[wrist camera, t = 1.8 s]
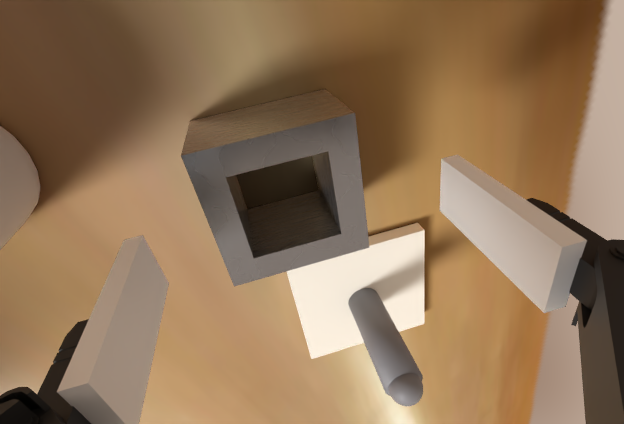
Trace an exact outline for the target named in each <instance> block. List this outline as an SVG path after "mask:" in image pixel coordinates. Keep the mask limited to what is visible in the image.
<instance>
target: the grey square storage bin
mask: <svg viewBox="0 0 624 424" xmlns="http://www.w3.org/2000/svg"><path fill="white" fill-rule="evenodd" d="M308 156H312V158H313V164H314V169H315V175H316V180H317V185H318V191H314V192H310V193H306V194H303V195H299V196H295V197H291V198H288V199H284V200H280V201H276V202H272V203H269V204H265V205H261V206H257V207H254V208H250V209H247V207H246V204H245V201H244V198H243V195H242V191H241V188H240V185H239V182H238V179H237V176H236V175H237V174H241V173H245V172H249V171H253V170H257V169H261V168H265V167H269V166H273V165H277V164H280V163H284V162H288V161H292V160H296V159H300V158H304V157H308ZM181 157H182V159H183V162H184V164H185V167H186V169H187V172H188V174H189V176H190V179H191V181H192V184H193V186H194V189H195V191H196V194H197V196H198V199H199V201H200V203H201V206H202V208H203V211H204V213H205V216H206V218H207V221H208V223H209V226H210V228H211V230H212V233H213V235H214V238H215V240H216V243H217V245H218V248H219V250H220V253H221V255H222V257H223V260H224V262H225V265H226V267H227V270H228V272H229V275H230V277H231V280H232V282H233V284H234V286H237V285H241V284H244V283H248V282H251V281H255V280H258V279H262V278H265V277H269V276H272V275H276V274H279V273H282V272H286V271H289V270H293V269H296V268H300V267H303V266H307V265H310V264H314V263H317V262H321V261H324V260H328V259H331V258H335V257H338V256H342V255H345V254H349V253H352V252H356V251H359V250H363V249H366V248H369V239H368V229H367V220H366V211H365V201H364V192H363V183H362V173H361V164H360V154H359V145H358V136H357V126H356V117H355V112H353V111H352V110H351V109H350V108H348V107H347V106H346V105H345V104H343V103H342V102H341V101H340V100H339V99H337V98H336V97H335V96H334V95H332V94H331V93H330V92H329V91H327V90H326V89H323V90H319V91H314V92H310V93H306V94H302V95H297V96H293V97H289V98H285V99H281V100H276V101H272V102H268V103H264V104H260V105H255V106H251V107H247V108H243V109H238V110H234V111H230V112H226V113H222V114H217V115H213V116H209V117H205V118H200V119H196V120H192V121H190V123H189V127H188V131H187V135H186V139H185V142H184V146H183V150H182V154H181Z"/></svg>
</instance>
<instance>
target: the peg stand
mask: <svg viewBox="0 0 624 424" xmlns="http://www.w3.org/2000/svg"><path fill="white" fill-rule="evenodd" d="M368 239H369V248H366V249H363V250H359V251H356V252H352V253H349V254H345V255H342V256H338V257H335V258H331V259H328V260H324V261H321V262H317V263H314V264H310V265H307V266H303V267H300V268H296V269H293V270H289V271H287V275H288V278H289V282H290V285H291V289H292V292H293V296H294V299H295V303H296V306H297V310H298V313H299V317H300V320H301V324H302V327H303V331H304V334H305V338H306V341H307V345H308V348H309V352H310V355H311V359H313V358H317V357H320V356H323V355H326V354H329V353H333V352H336V351H339V350H342V349H345V348H349V347H352V346H355V345H358V344H361V343H365V345H366V348H367V350H368V352H369V355H370V357H371V359H372V362H373V364H374V366H375V369H376V371H377V373H378V376H379V378H380V381H381V383H382V385H383V388H384V390H385V392H386V394H388V395H390V396H391V397H392V398H393V399H394V401H396V402H397V403H398V404H400V405H403V406H412V405H415V404H416V403H417V402H419V400H420V399H421V397H422V394H423V384H422V378H423V377H422V374H421V372H420V370H419V368H418V367H417V365H416V363H415V361H414V359H413V357H412V356H411V354H410V352H409V350H408V348H407V346H406V344H405V343H404V341H403V339H402V337H401V335H400V333H399V332H400V331H403V330H406V329H409V328H412V327H416V326H419V325H422V324H424V247H425V230H424V229H423V228H422V227H421V226H420V225H419V223H415V224H411V225H408V226H404V227H401V228H397V229H393V230H390V231H386V232H383V233H379V234H376V235H372V236H369V237H368Z"/></svg>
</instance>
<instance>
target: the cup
mask: <svg viewBox="0 0 624 424" xmlns="http://www.w3.org/2000/svg"><path fill="white" fill-rule="evenodd" d="M39 193H40V182H39V176H38V171H37V169H36V167H35V165H34V163H33V161H32V159H31V157H30V155H29V154H28V152H27V151H26V150H25V149H24V147H23V146H22V145H21V144H20V143H19V142H18V141H17V139H16V138H15V137H14V136H13V135H12V134H10V133H9V132H8V131H6V130H5V129H4V128H3V127H1V126H0V250H1V249H2V247H3V246H4V245H5V244H6V243H7V242H8V241H9V240H10V239H11V237H12V236H13V235H14V234H15V233H16V232H17V231H18V230H19V229H20V227H21V226H22V225H23V224H24V223H25V222H26V220H27V219H28V218H29V216H30V215H31V213H32V211H33V210H34V208H35V206H36V205H37V203H38V200H39Z"/></svg>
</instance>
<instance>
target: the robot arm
mask: <svg viewBox="0 0 624 424" xmlns="http://www.w3.org/2000/svg"><path fill="white" fill-rule="evenodd" d="M440 211H441V212H442V213H443V214H444V215H445V216H446V217H447V218H448V219H449V220H450V221H451V222H452V223H453V224H454V225H455V226H456V227H457V228H458V229H459V230H460V231H461V232H462V233H463V234H464V235H465V236H466V237H467V238H468V239H469V240H470V241H471V242H472V243H473V244H474V245H475V246H476V247H477V248H478V249H479V250H480V251H481V252H482V253H483V254H484V255H486V256H487V257H488V258H489V259H490V260H491V261H492V262H493V263H494V264H495V265H496V266H497V267H498V268H499V269H500V270H501V271H502V272H503V273H504V274H505V275H506V276H507V277H508V278H509V279H510V280H511V281H512V282H513V283H514V284H515V285H516V286H517V287H518V288H519V289H520V290H521V291H522V292H523V293H524V294H525V295H526V296H527V297H528V298H529V299H530V300H531V301H532V302H533V303H534V304H535V305H536V306H537V307H538V308H539V309H540V310H541V311H543V312H544V313H546V312H549V311H553V310H556V309H559V308H563V307H566V304H567V301H568V298H569V294H570V293H571V294H572V295H573V296H574V297H575V298H576V299H578V300H579V304H578V307H577V310H576V313H575V316H574V318H573V322H572V325H574V326H576V324H577V321H578V327H579V340H580V353H581V365H582V380H583V393H584V406H585V419H586V424H624V240H608V241H607V240H605V239H604V238H602V237H601V236H599V235H598V234H596V233H594V232H593V231H591V230H590V229H588V228H586V227H585V226H583V225H581V224H580V223H578V222H577V221H575V220H573V219H570V217H569V216H567V215H566V214H564V213H563V212H561V213H560V211H559V210H558V209H556V208H555V207H553V206H551V205H550V204H548V203H546V202H543V201H540V200H537V199H534V198H530V199H527V200H525V199H524V198H522V197H521V196H519V195H518V194H516V193H515V192H513V191H512V190H510V189H509V188H507V187H506V186H504V185H503V184H501V183H500V182H498V181H497V180H495V179H494V178H492V177H491V176H489V175H488V174H486V173H485V172H483V171H482V170H480V169H479V168H477V167H476V166H474V165H473V164H471V163H469V162H468V161H466V160H465V159H463V158H462V157H460V156H459V155H454V156H450V157H446V158H442V159H441V186H440ZM168 285H169V282H168V281H167V279H166V277H165V275H164V273H163V271H162V270H161V268H160V266H159V264H158V262H157V260H156V259H155V257H154V255H153V253H152V251H151V249H150V248H149V246H148V244H147V242H146V240H145V238H144V237H143V235H141V236H137V237H133V238H129V239H125V240H124V241H123V243H122V245H121V248H120V250H119V252H118V254H117V257H116V259H115V261H114V263H113V266H112V268H111V270H110V272H109V275H108V277H107V279H106V282H105V284H104V286H103V288H102V291H101V293H100V295H99V297H98V300H97V302H96V304H95V306H94V309H93V311H92V313H91V316H90V318H89V319H88V320H84V321H81V322H78V323H77V324H76V325H75V326H74V327H73V328H72V330H71V331H70V332H69V333H68V334H67V335H66V337H65V339H64V341H63V343H62V345H61V347H60V349H59V353H57V355H56V357H55V359H54V361H53V363H54V364H53V365H51V367H50V369H49V371H48V373H47V375H46V377H45V380H44V382H43V384H42V386H41V388H40V390H39V392H38V394H36V393H35V392H33V391H32V390H31V389H29V388H28V387H18V388H15V389H12V390H10V391H7V392H6V393H4V394H2V395H1V396H0V424H139V421H140V417H141V412H142V407H143V403H144V398H145V393H146V389H147V384H148V379H149V374H150V370H151V365H152V360H153V356H154V351H155V346H156V342H157V337H158V332H159V327H160V323H161V318H162V313H163V309H164V304H165V299H166V294H167V290H168Z"/></svg>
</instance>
